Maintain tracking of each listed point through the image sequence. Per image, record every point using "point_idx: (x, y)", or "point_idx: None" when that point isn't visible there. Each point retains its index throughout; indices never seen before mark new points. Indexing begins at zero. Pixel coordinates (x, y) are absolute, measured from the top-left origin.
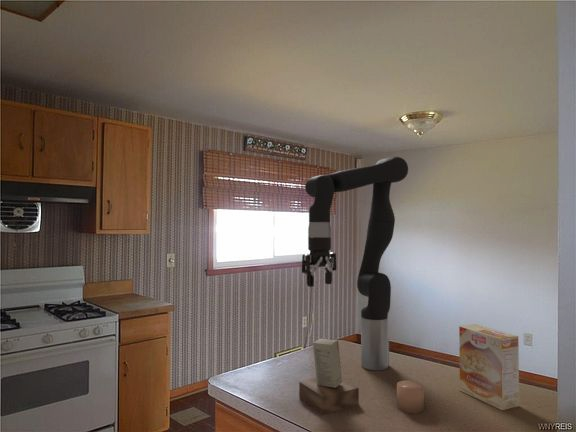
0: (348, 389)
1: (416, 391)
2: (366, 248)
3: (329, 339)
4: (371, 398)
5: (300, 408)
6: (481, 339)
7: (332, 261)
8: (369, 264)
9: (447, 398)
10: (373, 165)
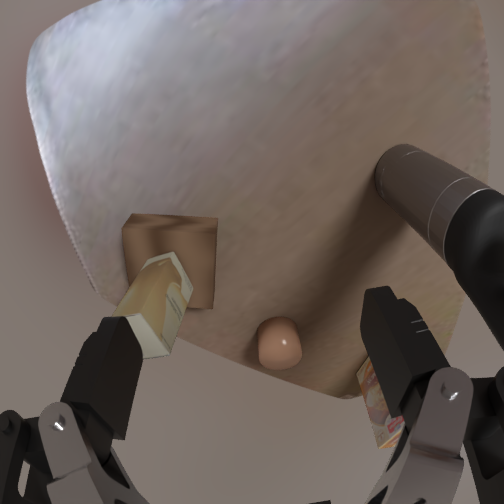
0: (190, 305)
1: (270, 368)
2: None
3: (157, 335)
4: (252, 285)
5: (114, 250)
6: (392, 426)
7: (491, 497)
8: None
9: (347, 335)
10: None
